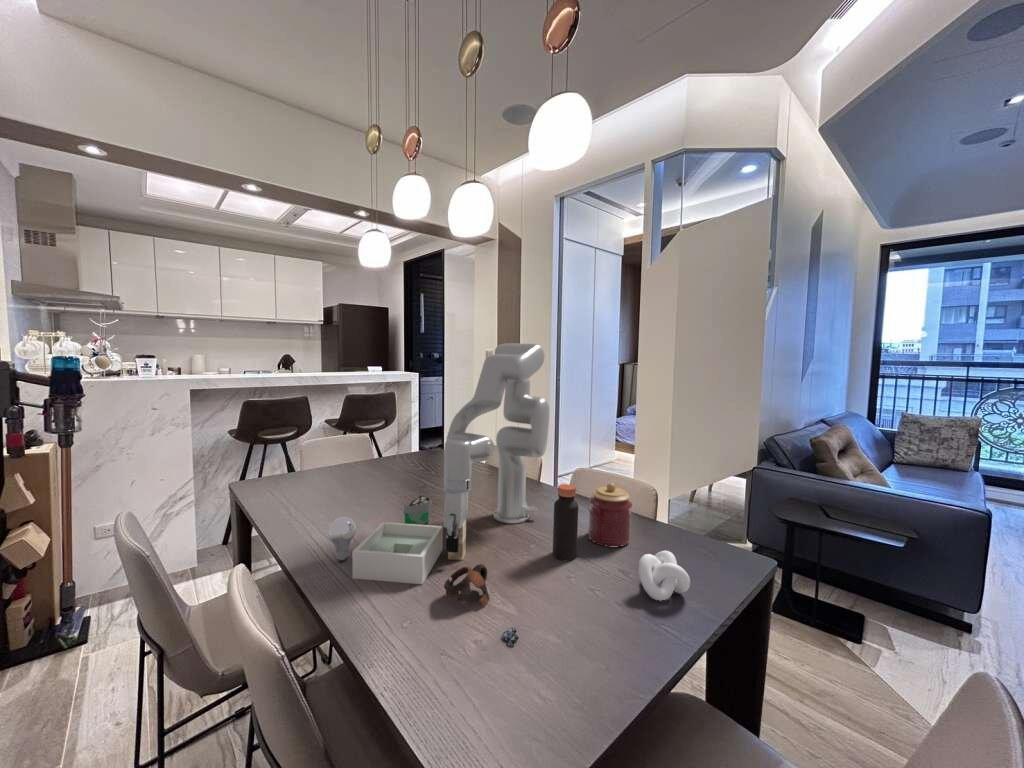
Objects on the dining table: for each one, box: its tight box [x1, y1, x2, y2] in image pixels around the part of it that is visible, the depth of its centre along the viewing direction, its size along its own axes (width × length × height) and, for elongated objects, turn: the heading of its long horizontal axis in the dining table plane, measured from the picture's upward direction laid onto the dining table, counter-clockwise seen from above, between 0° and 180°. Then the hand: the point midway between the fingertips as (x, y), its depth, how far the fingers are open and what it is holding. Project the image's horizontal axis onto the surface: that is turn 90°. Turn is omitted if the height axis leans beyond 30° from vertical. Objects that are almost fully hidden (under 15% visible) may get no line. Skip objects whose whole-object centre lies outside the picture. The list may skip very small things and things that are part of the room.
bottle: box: [552, 483, 579, 561], centre depth 118 cm, size 7×7×20 cm
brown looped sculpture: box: [443, 563, 490, 609], centre depth 98 cm, size 12×10×8 cm
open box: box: [351, 521, 444, 585], centre depth 112 cm, size 18×18×7 cm
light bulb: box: [327, 516, 357, 562], centre depth 113 cm, size 7×7×12 cm
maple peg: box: [447, 519, 467, 561], centre depth 116 cm, size 4×4×10 cm
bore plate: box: [369, 534, 432, 555], centre depth 112 cm, size 16×16×3 cm
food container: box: [403, 493, 433, 525], centre depth 132 cm, size 12×6×10 cm, turn 168°
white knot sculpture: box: [638, 550, 691, 602], centre depth 102 cm, size 11×12×9 cm
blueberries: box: [501, 626, 528, 648], centre depth 84 cm, size 7×8×2 cm
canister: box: [587, 482, 633, 546], centre depth 129 cm, size 13×13×18 cm
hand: (456, 543), depth 116 cm, fingers open, 9 cm apart
